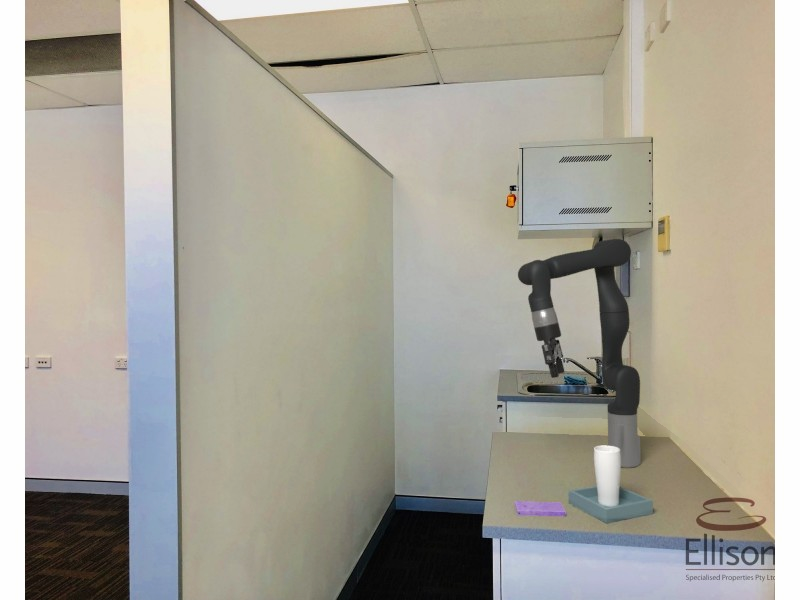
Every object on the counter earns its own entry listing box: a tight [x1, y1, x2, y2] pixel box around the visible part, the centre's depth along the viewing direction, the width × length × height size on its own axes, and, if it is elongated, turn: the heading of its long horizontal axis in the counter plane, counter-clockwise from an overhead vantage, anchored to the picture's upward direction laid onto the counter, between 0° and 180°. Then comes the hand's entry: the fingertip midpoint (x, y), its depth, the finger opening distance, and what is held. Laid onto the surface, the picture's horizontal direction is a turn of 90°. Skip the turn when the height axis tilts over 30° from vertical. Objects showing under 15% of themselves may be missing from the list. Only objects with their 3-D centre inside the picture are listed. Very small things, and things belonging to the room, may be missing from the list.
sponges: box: [514, 500, 567, 517], centre depth 151 cm, size 7×13×2 cm, turn 84°
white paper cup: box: [593, 444, 622, 507], centre depth 151 cm, size 7×7×15 cm
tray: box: [567, 485, 654, 524], centre depth 151 cm, size 15×15×4 cm
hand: (558, 375), depth 174 cm, fingers open, 8 cm apart
